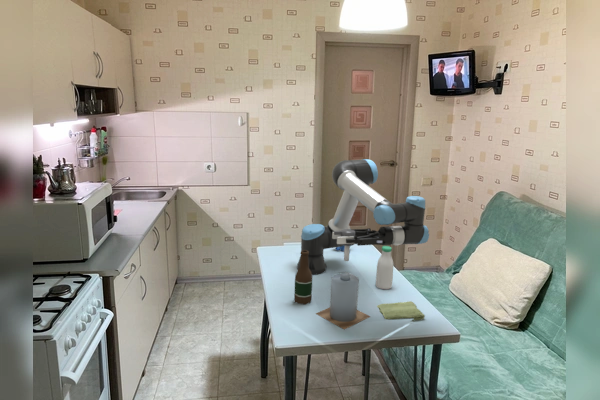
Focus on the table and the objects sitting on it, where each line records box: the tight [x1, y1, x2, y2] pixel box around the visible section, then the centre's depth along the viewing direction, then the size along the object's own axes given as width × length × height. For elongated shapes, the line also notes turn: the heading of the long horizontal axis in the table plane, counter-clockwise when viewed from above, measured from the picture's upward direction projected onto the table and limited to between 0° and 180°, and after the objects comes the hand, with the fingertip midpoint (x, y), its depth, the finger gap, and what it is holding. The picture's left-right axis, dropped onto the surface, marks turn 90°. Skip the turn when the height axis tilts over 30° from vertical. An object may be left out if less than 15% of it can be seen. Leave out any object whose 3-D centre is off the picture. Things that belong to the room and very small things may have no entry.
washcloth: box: [376, 300, 426, 322], centre depth 178 cm, size 13×18×3 cm
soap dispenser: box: [329, 271, 360, 322], centre depth 172 cm, size 11×11×18 cm
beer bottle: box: [293, 250, 313, 305], centre depth 183 cm, size 8×8×24 cm
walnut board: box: [315, 306, 371, 330], centre depth 174 cm, size 16×16×1 cm
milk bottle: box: [375, 245, 394, 290], centre depth 202 cm, size 8×8×20 cm
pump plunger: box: [334, 228, 355, 262], centre depth 166 cm, size 6×8×12 cm
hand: (335, 237), depth 165 cm, fingers closed on pump plunger, 6 cm apart
